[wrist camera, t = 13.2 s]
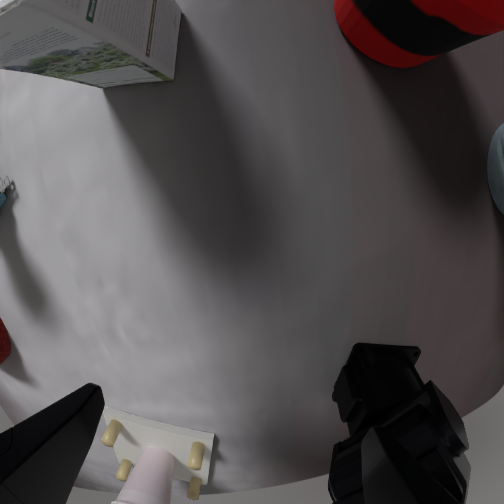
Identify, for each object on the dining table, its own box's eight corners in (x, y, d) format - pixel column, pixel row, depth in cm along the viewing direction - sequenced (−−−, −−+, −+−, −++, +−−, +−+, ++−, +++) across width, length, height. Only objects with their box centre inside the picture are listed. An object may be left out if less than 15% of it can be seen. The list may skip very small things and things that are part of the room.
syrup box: (184, 8, 15) (79, -125, 1) (175, 84, 17) (11, -1, 3) (109, 20, 15) (-31, -54, 1) (99, 92, 17) (-79, 69, 3)
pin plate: (214, 433, 27) (208, 463, 23) (207, 479, 31) (203, 503, 27) (106, 405, 27) (92, 431, 23) (121, 457, 31) (112, 479, 27)
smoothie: (184, 472, 29) (163, 566, 16) (134, 458, 29) (103, 547, 16) (187, 449, 27) (161, 559, 14) (131, 433, 27) (90, 535, 13)
